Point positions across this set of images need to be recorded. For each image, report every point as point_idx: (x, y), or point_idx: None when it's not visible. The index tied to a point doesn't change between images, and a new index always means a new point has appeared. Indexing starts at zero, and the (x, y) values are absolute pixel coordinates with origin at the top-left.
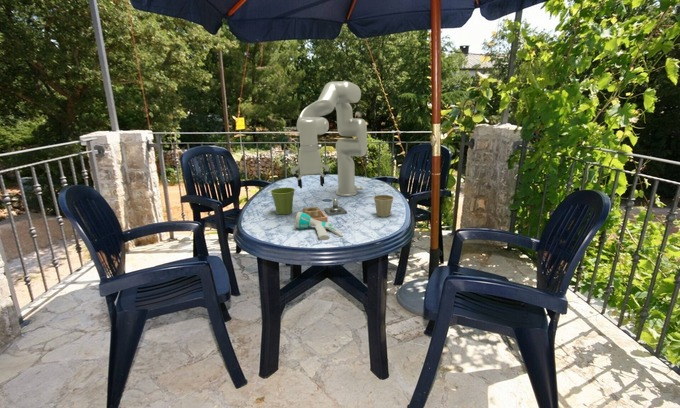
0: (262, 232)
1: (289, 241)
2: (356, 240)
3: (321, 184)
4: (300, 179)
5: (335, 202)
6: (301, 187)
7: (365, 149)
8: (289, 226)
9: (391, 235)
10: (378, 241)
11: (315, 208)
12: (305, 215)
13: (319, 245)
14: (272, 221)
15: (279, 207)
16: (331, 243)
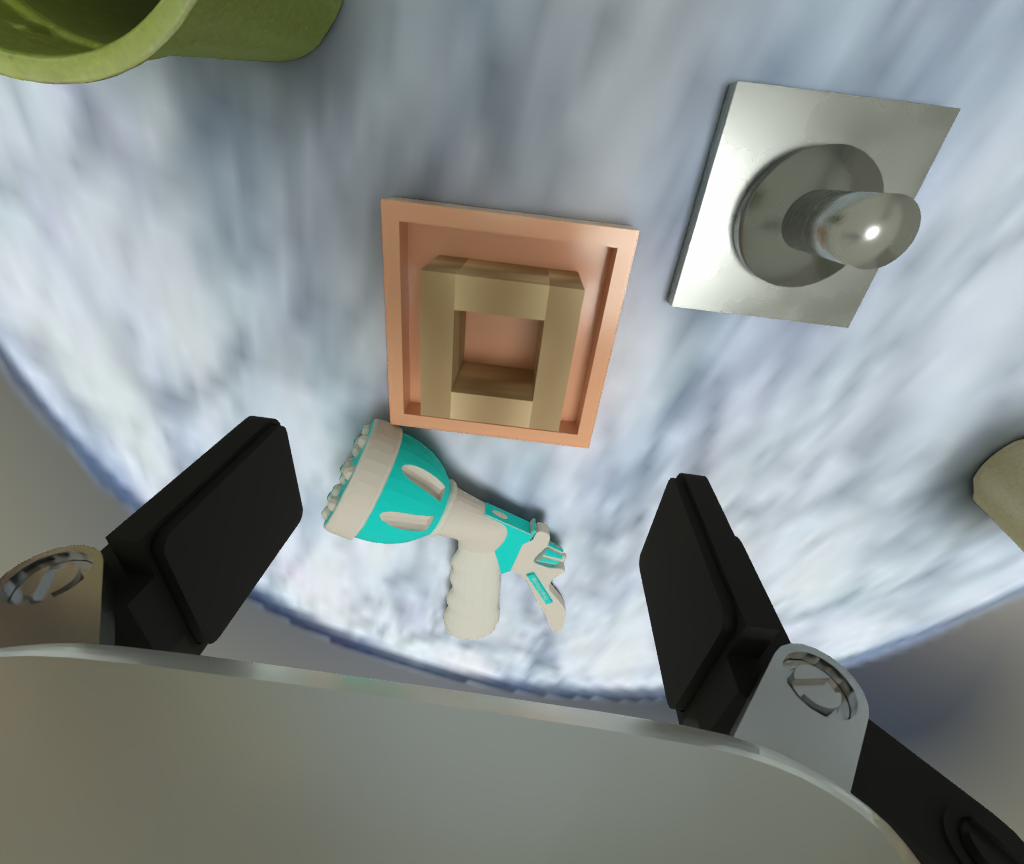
0: (146, 431)
1: (312, 581)
2: (593, 666)
3: (647, 568)
4: (176, 637)
5: (835, 261)
6: (286, 529)
7: None
8: (314, 404)
9: None
10: None
11: (542, 334)
12: (390, 540)
13: (433, 649)
14: (169, 235)
15: (142, 19)
16: (485, 652)
